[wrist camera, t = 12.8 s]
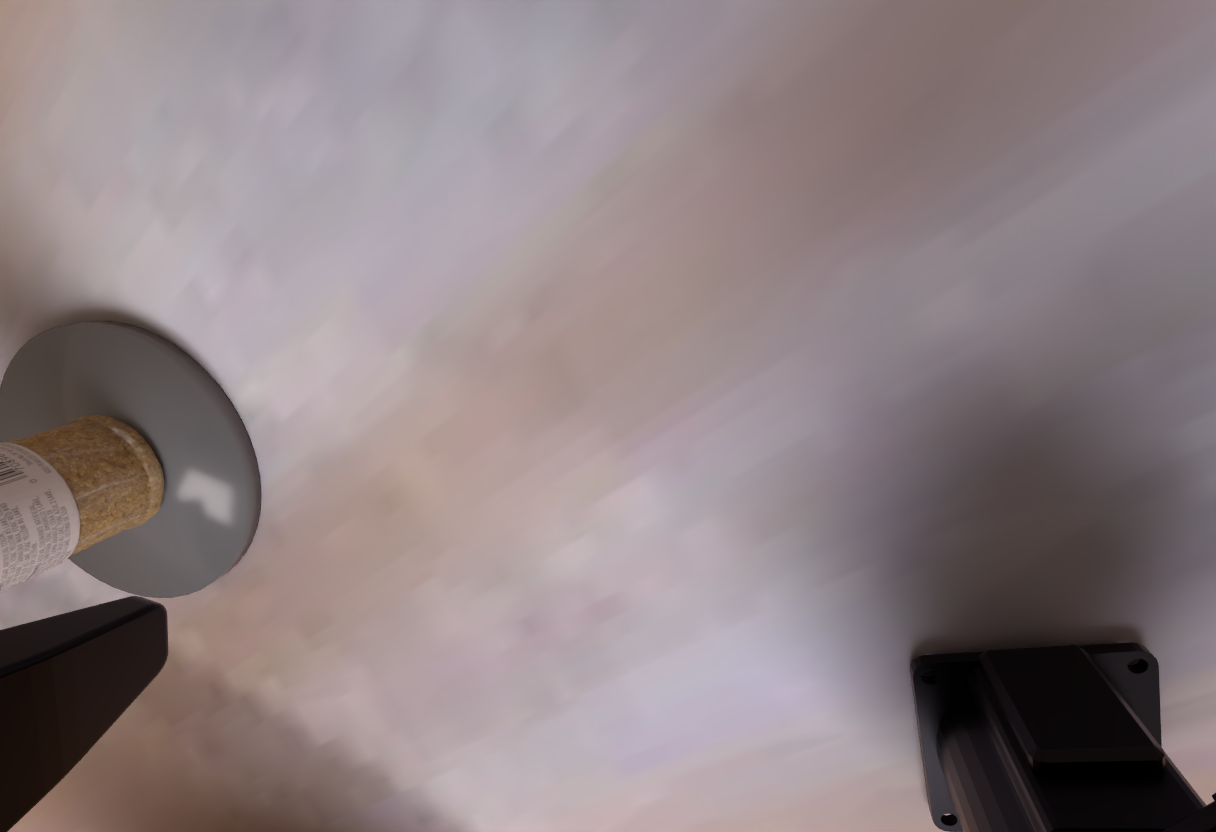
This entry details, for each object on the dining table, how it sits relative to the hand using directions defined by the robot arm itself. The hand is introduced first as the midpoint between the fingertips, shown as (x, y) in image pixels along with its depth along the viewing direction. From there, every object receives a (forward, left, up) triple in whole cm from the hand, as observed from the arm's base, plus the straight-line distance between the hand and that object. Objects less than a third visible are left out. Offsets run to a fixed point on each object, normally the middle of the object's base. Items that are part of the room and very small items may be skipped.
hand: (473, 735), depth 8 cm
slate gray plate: (+2, +20, -13) cm, 24 cm away
